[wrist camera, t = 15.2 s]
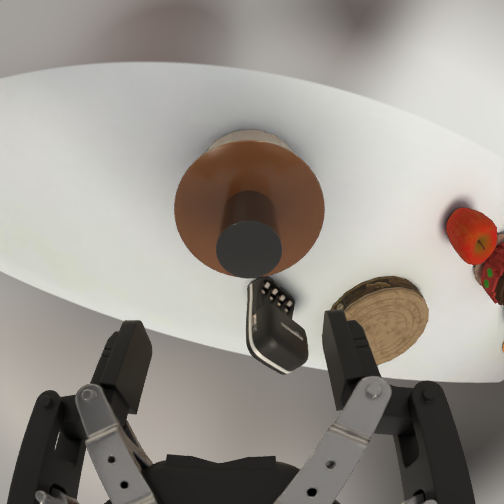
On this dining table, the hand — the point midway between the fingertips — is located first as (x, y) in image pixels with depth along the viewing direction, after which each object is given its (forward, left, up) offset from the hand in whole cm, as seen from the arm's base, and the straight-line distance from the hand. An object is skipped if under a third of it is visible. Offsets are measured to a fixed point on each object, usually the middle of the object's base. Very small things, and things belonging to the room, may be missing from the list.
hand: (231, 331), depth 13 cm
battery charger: (+15, +3, -22) cm, 27 cm away
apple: (+6, +28, -22) cm, 36 cm away
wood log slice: (+22, +18, -22) cm, 36 cm away
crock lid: (0, +1, -13) cm, 13 cm away
